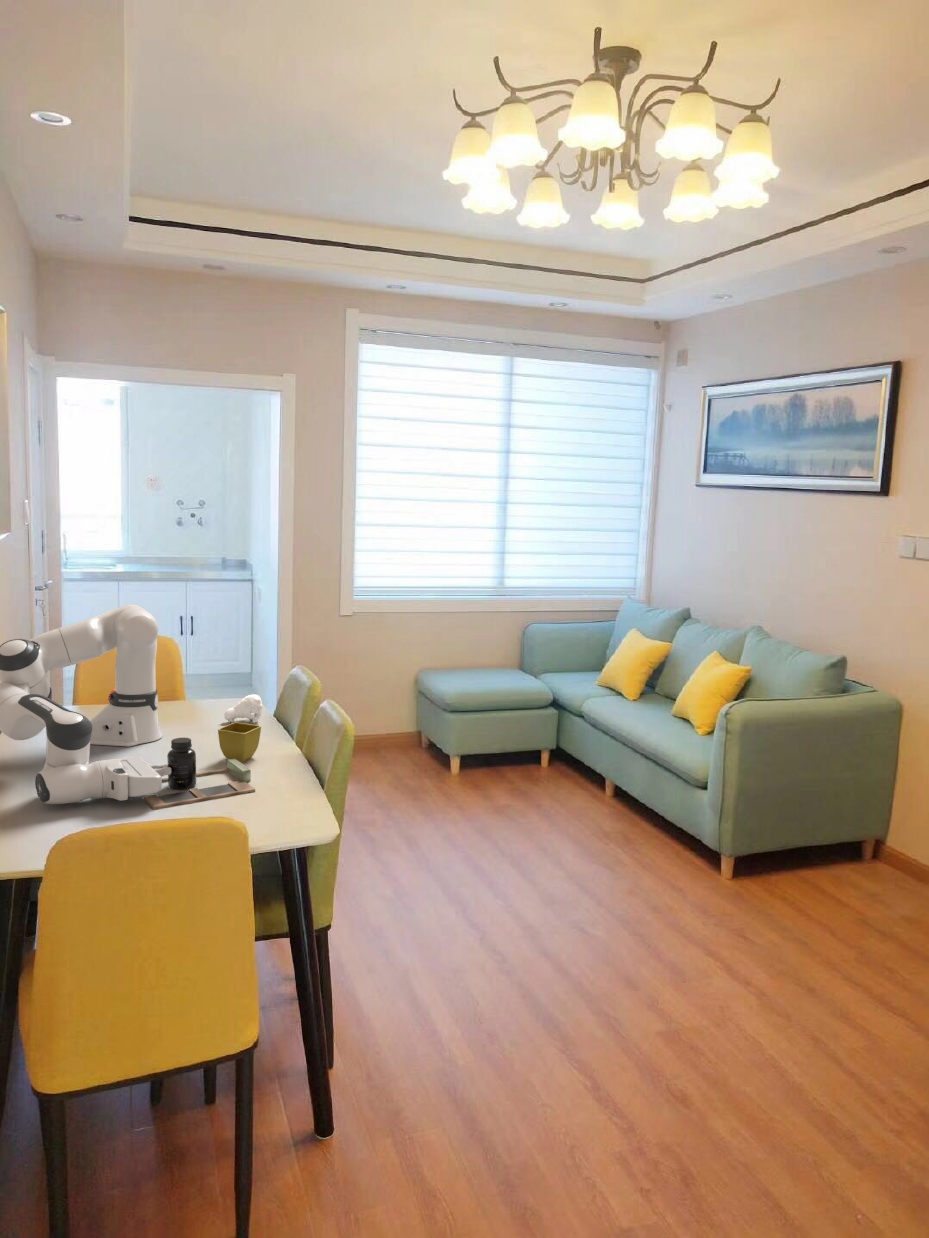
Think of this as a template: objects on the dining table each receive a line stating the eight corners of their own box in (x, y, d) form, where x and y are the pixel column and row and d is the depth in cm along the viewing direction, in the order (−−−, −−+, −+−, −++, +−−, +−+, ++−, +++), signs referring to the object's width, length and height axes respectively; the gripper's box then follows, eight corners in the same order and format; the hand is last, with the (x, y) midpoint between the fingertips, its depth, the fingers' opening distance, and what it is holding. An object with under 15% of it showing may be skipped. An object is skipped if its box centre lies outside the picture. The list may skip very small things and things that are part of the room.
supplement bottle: (170, 781, 233) (169, 736, 231) (197, 781, 234) (197, 735, 232) (166, 790, 226) (165, 743, 225) (194, 790, 228) (194, 743, 226)
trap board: (153, 809, 214) (153, 797, 213) (131, 785, 229) (130, 774, 229) (262, 790, 229) (262, 778, 229) (234, 769, 245) (234, 758, 244)
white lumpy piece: (262, 695, 290) (224, 702, 285) (265, 721, 291) (227, 728, 287) (258, 691, 295) (221, 697, 291) (261, 716, 297) (224, 723, 293)
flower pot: (262, 756, 256) (262, 725, 255) (245, 765, 248) (244, 733, 247) (235, 752, 259) (234, 721, 258) (217, 761, 251) (216, 729, 250)
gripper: (101, 778, 228) (157, 769, 236) (122, 803, 211) (182, 793, 219) (100, 753, 227) (157, 746, 235) (122, 776, 210) (182, 768, 218)
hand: (169, 769), depth 227 cm, fingers closed
